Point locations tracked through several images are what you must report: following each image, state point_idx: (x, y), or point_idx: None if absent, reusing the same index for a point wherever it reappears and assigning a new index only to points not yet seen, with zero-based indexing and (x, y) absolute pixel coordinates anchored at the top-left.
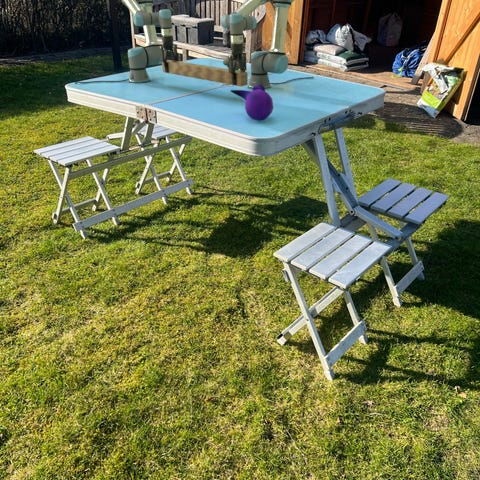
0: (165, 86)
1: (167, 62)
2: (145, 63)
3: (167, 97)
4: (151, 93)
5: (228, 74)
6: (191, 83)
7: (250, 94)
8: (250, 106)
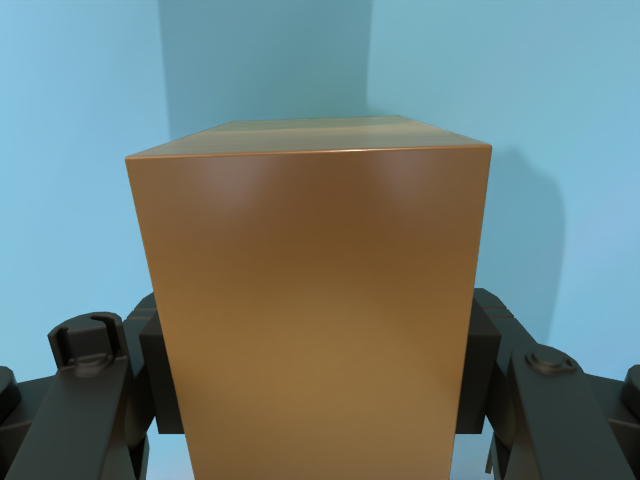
0: (302, 85)
1: (192, 431)
2: None
3: None
4: (8, 256)
5: None
6: (597, 196)
7: None
8: None
